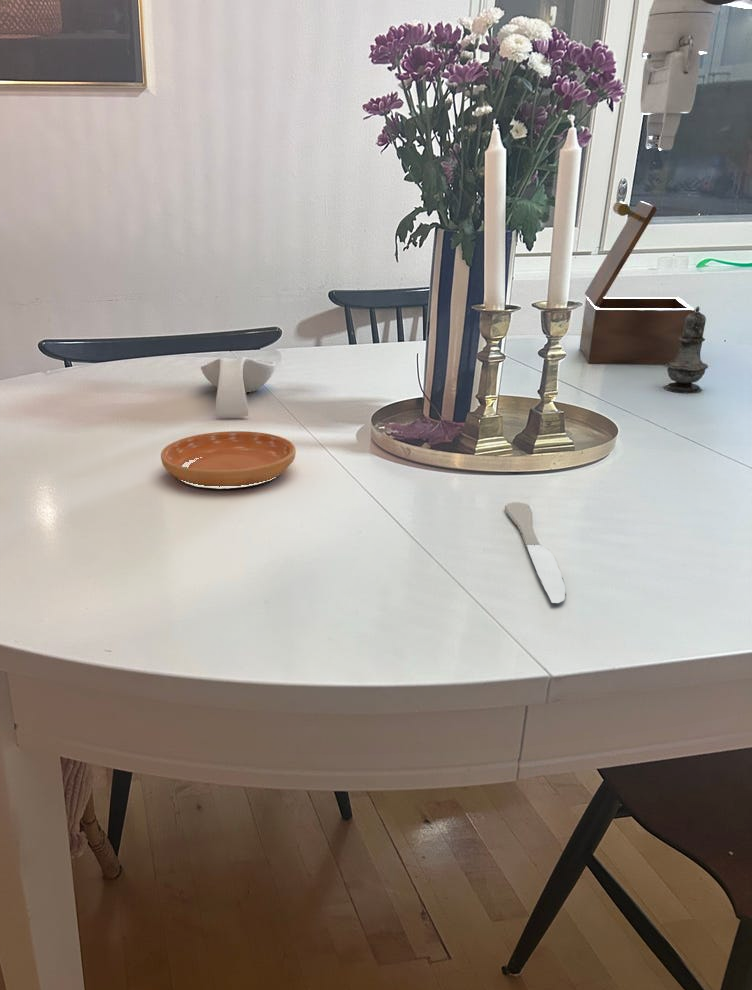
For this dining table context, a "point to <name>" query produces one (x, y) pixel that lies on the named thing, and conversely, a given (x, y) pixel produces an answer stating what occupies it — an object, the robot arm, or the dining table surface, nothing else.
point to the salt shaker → (688, 356)
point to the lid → (620, 248)
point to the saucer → (228, 458)
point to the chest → (633, 330)
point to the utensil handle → (522, 521)
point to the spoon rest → (236, 382)
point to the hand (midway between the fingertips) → (658, 149)
